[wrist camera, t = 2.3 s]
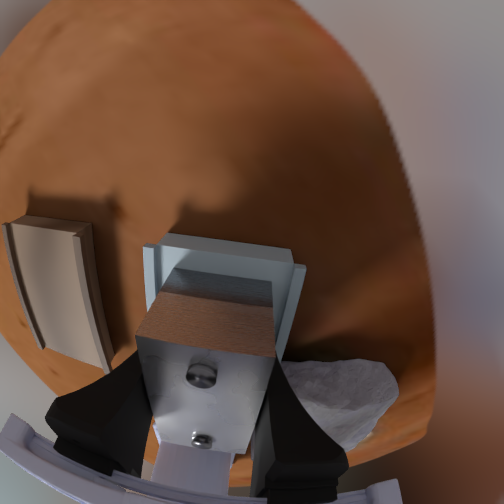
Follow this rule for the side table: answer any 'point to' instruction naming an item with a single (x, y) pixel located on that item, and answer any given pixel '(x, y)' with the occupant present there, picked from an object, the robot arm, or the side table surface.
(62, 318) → the walnut stand
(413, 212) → the side table surface
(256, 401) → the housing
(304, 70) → the side table surface
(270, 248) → the bluegrey stand
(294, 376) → the stone block
